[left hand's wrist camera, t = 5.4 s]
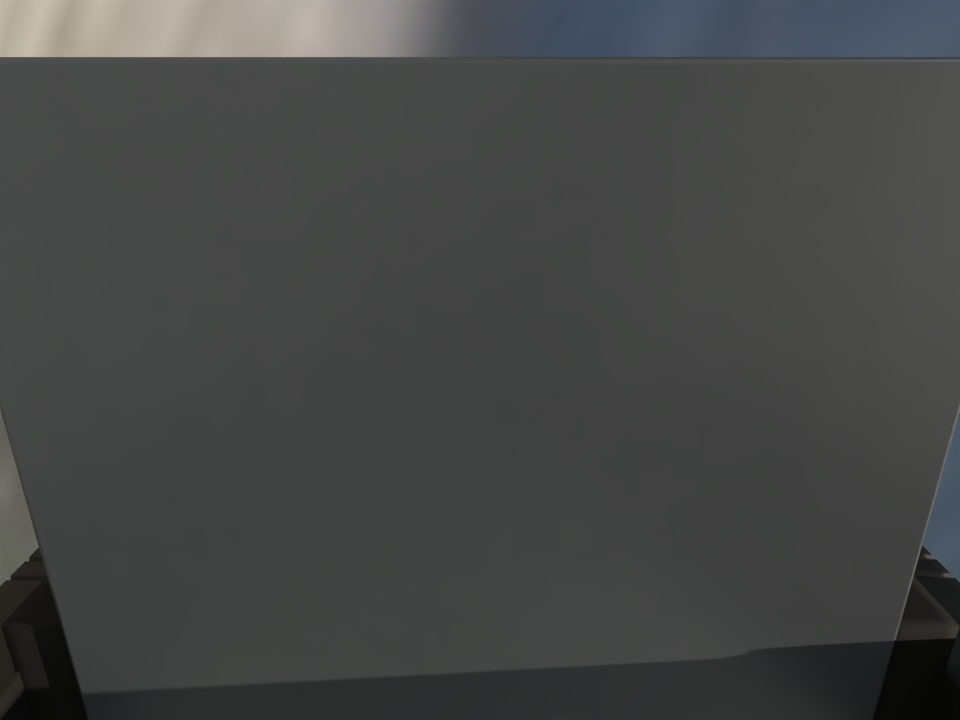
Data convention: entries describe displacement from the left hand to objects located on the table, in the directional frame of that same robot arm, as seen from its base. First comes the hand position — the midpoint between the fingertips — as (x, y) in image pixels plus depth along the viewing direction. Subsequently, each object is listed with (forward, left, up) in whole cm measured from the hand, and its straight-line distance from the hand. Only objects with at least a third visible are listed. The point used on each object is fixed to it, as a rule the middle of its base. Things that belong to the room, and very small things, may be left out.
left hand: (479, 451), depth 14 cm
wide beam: (+19, +14, -1) cm, 24 cm away
